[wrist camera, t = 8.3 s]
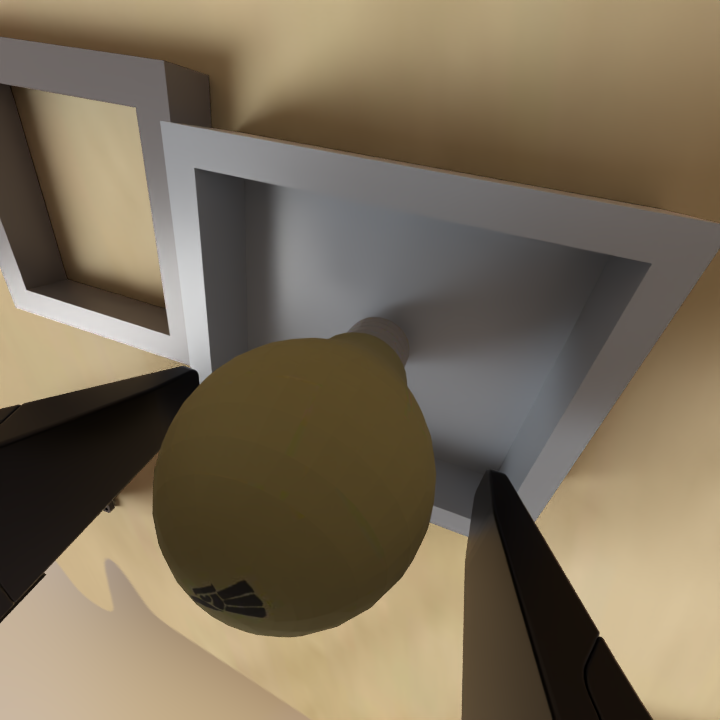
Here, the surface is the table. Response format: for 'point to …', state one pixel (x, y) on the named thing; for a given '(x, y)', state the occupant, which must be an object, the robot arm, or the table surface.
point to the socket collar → (28, 211)
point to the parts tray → (433, 290)
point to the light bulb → (297, 482)
